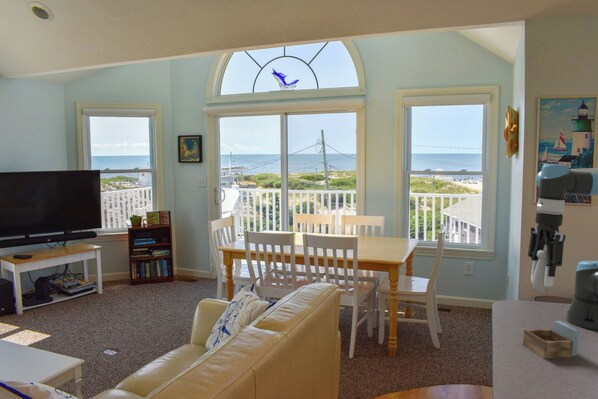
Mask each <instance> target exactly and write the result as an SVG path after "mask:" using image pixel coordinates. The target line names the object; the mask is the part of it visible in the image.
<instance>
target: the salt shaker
mask: <svg viewBox="0 0 598 399" xmlns="http://www.w3.org/2000/svg"><path fill="white" fill-rule="evenodd" d="M537 257H539V259H538V263H537V265H536V268H535V271H534V274H533V277H532V280H531V279H530V280H531V281H530V283H531V285H532V287H533V290H535V291H538V292H543V293H546V292H549V290H550V288H551V287H552V286H543V285H544V277H545V268H546V264H548V258H547V249H546V250H545V249H543V250H539V251H538V252H537Z"/></svg>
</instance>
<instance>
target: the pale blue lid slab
mask: <svg viewBox="0 0 598 399" xmlns="http://www.w3.org/2000/svg"><path fill="white" fill-rule="evenodd" d="M552 330H554V331H555V332H557V333H559V334H561V335H563V336H564V337H566V338H568V339H570V340H572V341H573V349H572V357H576V356H577V355H578V354H577V353H578V346H579V335H580V330H579V329H577V328H575V327H573V326H571V325H569V324H567V323H565V322H563V321H561V320H554V322H553V329H552Z"/></svg>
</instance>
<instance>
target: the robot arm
mask: <svg viewBox="0 0 598 399" xmlns="http://www.w3.org/2000/svg"><path fill="white" fill-rule="evenodd" d="M569 168H570V166H569V165H567V164H557V163H544V164H543V165H542V167H541V170H540V171H539V172H538V173H537V175H536V177H535V184H536V186H537V188H538V197H537V198H538V200H537V207H536V209H537V212H535V215H536V216H535V223H536V224H537V227H530V239H529V247H528V253H527V256H528V257H529V258H530V259H531V272H530V273H531V274H530V280H532V277H533V274H534V271H535V268H536V265H537V263H538V259H539V257H537V252H538V251H539V250H545V247H546V250H547V258H548V264H546V268H545V277H544V285H543V286H551V287H553V286H554V278H555V277H556V269H557V267H561V266H563V256H564V243H565V241H566V237H567V236H566V235H565V234H561V233H560V230H559V227H561V226H562V225H563V218H564V215H563V214H562V213H564V212H565V205H566V204H565V202H566V196H567V195H568V196H569V195H573V196H586V197H589V196H594V197H595V196H597V195H598V167H593V168H592V167H590V168H588V167H587V168H570V169H569ZM576 266H577V267H576V270H575V279H574V280H575V282H574V293H573V299H572V302H571V303H570V305H569V307H568V310H567V311H566V313H565V314H566V315H565V319H566V320H567V321H568V323H570V324H573V325H576V326H579V327H582V328H585V329H589V330H596V331H598V260H581V261H579V262H578V263H577V265H576Z"/></svg>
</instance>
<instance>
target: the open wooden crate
mask: <svg viewBox="0 0 598 399" xmlns="http://www.w3.org/2000/svg"><path fill="white" fill-rule="evenodd" d="M522 345H523V346H524V347H525V346H526V348H527V347H528V348H530V349H531V350H532V351H531V350H530V349H529V350H530V351H531V352H533V351H534V352H535V354H536V353H537V354H536V355H537V356H539V357H540V358H542V359H561V358H562V359H563V358H572V357H573V356H572V349H573V341H572V340H570V339H568V338H566V337H564V336H563V335H561V334H559V333H557V332H555V331H554V330H553V329H551V328H542V329H540V328H539V329H524V330H523V342H522ZM528 348H527V349H528ZM534 352H533V353H534Z"/></svg>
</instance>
